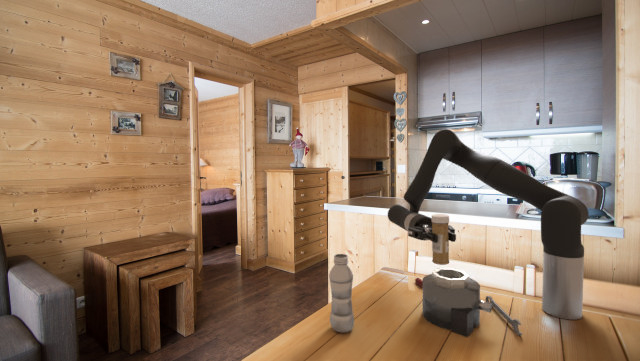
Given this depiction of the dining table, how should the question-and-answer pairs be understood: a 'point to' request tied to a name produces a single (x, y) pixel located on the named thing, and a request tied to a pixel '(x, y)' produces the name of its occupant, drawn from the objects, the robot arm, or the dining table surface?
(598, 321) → the dining table surface
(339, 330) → the plastic bottle
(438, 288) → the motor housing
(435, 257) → the spice jar
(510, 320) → the combination wrench
